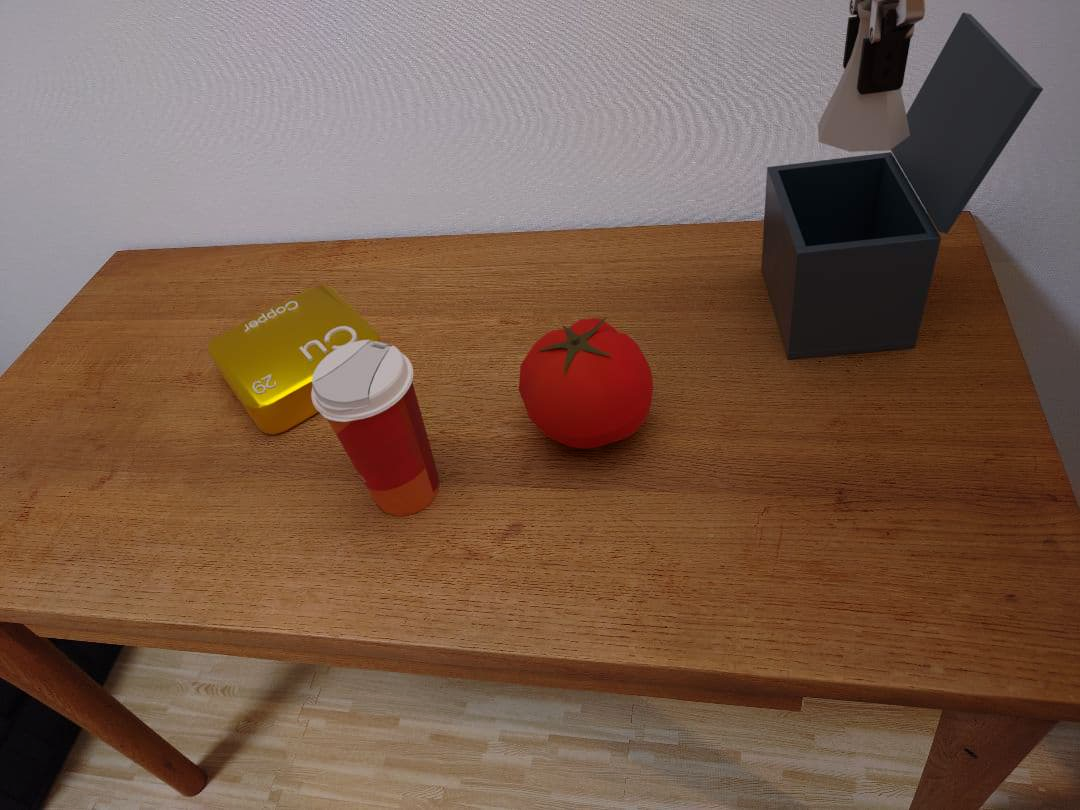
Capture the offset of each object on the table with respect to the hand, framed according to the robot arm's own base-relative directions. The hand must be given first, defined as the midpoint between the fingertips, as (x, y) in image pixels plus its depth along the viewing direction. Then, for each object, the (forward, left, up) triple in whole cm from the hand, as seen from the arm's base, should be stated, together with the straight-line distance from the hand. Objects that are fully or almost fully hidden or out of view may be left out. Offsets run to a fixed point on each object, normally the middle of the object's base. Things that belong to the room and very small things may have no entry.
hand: (871, 76), depth 62 cm
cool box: (0, -3, -25) cm, 25 cm away
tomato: (+25, +11, -25) cm, 37 cm away
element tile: (+56, -1, -25) cm, 61 cm away
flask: (0, 0, -5) cm, 5 cm away
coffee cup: (+42, +17, -25) cm, 51 cm away
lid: (-8, -3, -6) cm, 11 cm away
